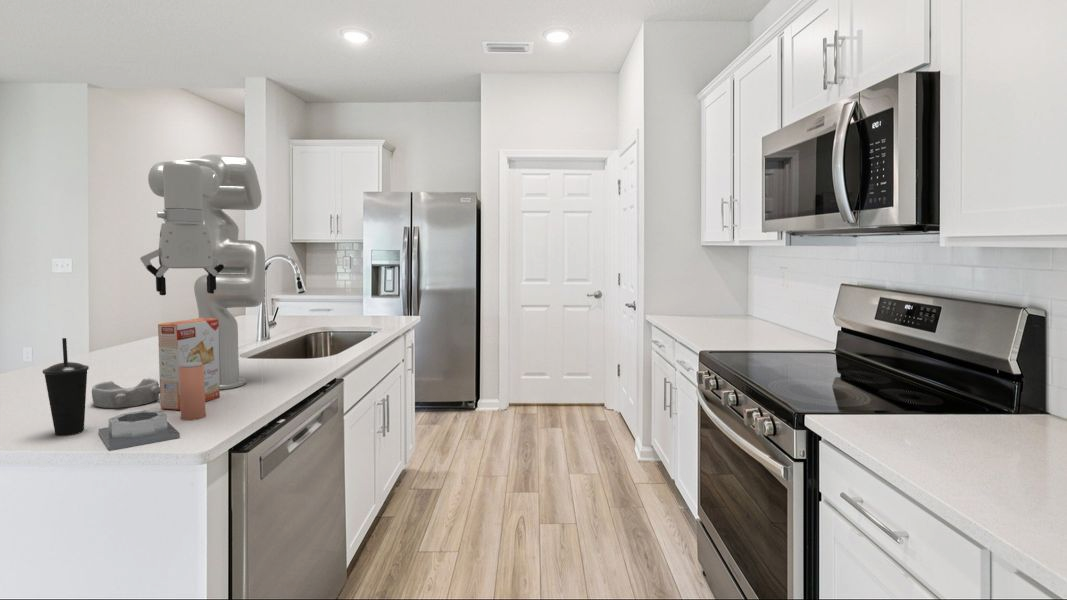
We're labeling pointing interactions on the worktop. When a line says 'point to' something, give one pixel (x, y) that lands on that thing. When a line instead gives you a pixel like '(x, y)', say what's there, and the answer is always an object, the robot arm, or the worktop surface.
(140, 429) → the ring block
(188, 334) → the cracker box
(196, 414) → the cylinder
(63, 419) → the drinking cup
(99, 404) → the dish
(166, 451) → the worktop surface
